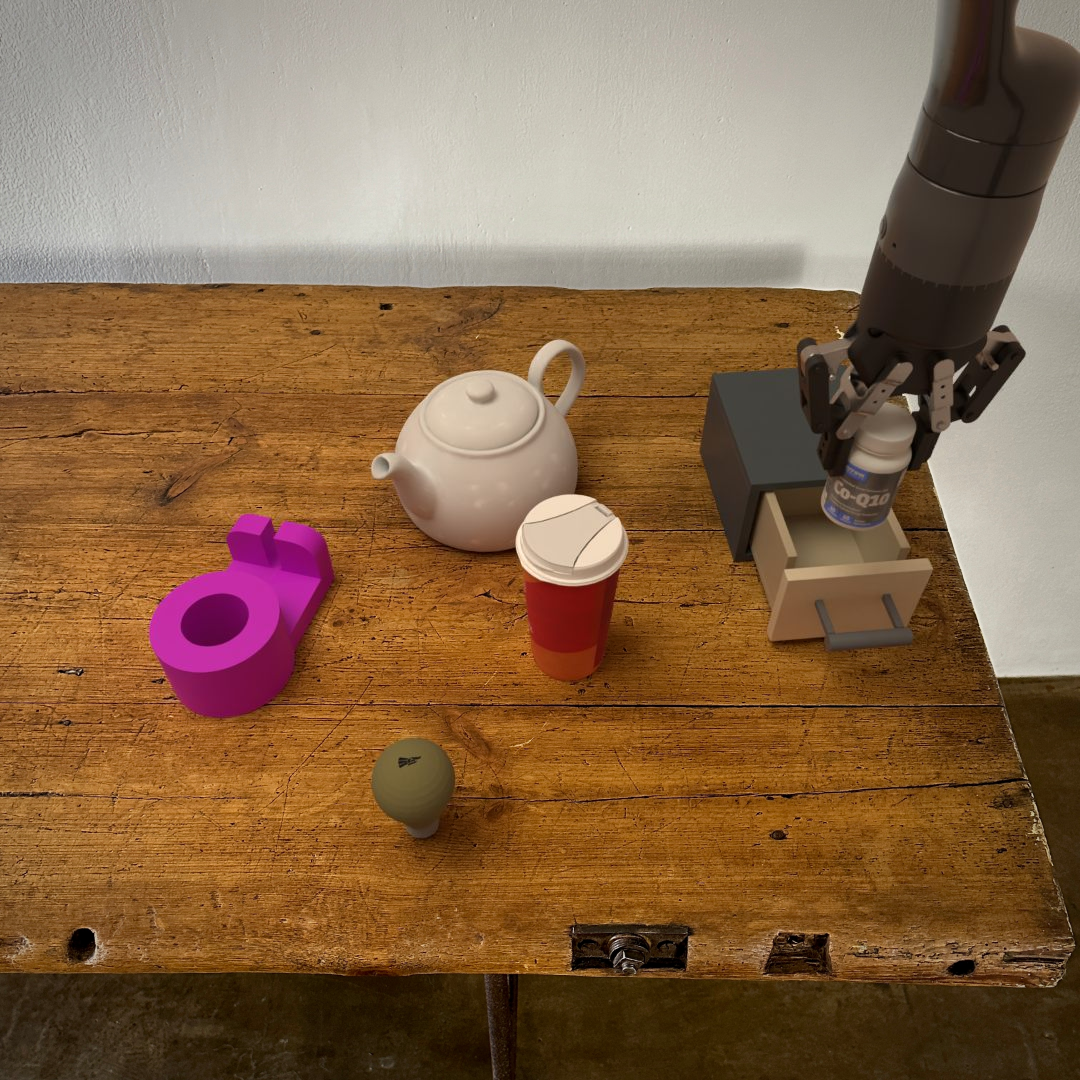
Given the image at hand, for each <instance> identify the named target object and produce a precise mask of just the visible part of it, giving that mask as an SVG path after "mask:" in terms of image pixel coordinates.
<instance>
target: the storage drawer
mask: <svg viewBox="0 0 1080 1080" xmlns="http://www.w3.org/2000/svg"><path fill="white" fill-rule="evenodd" d="M823 490H824V487H811V488H797V489H784V490H770V491H760V494H759V498H758V502H757V506H756V510H755V515H754V519H753V523H752V527H751V531H750V536H749V540H748V542H749V545H750V548H751V551H752V554H753V557H754V560H753V561H754V564H755V566H756V569H757V572H758V575H759V579H760V581H761V584H762V587H763V590H764V594H765V596H766V599H767V602H768V605H769V608H770V611H771V614H770V617H769V620H768V624H767V627H766V634H767V636H768V639H769V641H770V642H778V641H780V642H781V641H790V640H791V641H792V640H802V639H803V640H804V639H815V638H824V640H823V642H824V648H825V650H826V652H827V653H833V652H835V653H836V652H837V653H838V652H847V651H849V652H850V651H859V650H860V651H861V650H872V649H883V648H884V649H885V648H897V647H907V646H912V645H913V643H914V633H913V630H912V628H911V627H909V626H908V625H909V623H910V621H911V619H912V617H913V614H914V612H915V610H916V608H917V606H918V604H919V602H920V599H921V597H922V595H923V593H924V591H925V589H926V586H927V585H928V582H929V581H930V577H931V576H932V573H933V572H934V567H933V565H932V563H931V561H930V559H929V558H928V557H926V558H913V559H912V558H911V559H907V558H908V557H907V556H908V555H909V552H910V550H911V545H910V542H909V541H908V539H907V537H906V535H905V533H904V530H903V528H902V527H901V524H900V522H899V520H898V518H897V516H896V514H895V512H894V510H893V508H892V507H891V509H890V512H889V514H888V517H887V518H886V520H885V521H884V523H883V524H882V525H880V526H879V527H877V528H875V529H872V530H867V531H855V530H850V529H847V528H844V527H841V526H839V525H837V524H835V523H834V522H833V521H831V520H830V519H829V518H828V517H827V516H826V514H825V513H824V511H823V509H822V506H821V497H822V493H823Z"/></svg>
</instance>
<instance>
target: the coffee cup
mask: <svg viewBox="0 0 1080 1080" xmlns="http://www.w3.org/2000/svg"><path fill="white" fill-rule="evenodd" d="M515 550H516V553H517V556H518V559H519V562H520V565H521V567H522V573H523V574H522V575H523V583H524V585H523V586H524V594H525V603H526V612H527V622H528V629H529V638H530V644H531V652H532V656H533V660H534V662H535V664H536V665H537V667H538V668H539V669H540V670H541V672H543V673H544V674H546V675H547V676H549V677H550V678H553V679H556V680H559V681H566V682H567V681H568V682H569V681H571V682H573V681H578V680H579V681H580V680H582V679H585V678H587V677H588V676H590V675H593V673H595V672H596V671H597V670H598V668H599V667H600V666H601V663H602V661H603V658H604V655H605V652H606V646H607V641H608V637H609V632H610V626H611V621H612V616H613V609H614V604H615V600H616V593H617V589H618V588H617V587H618V583H619V577H620V571H621V567H622V566H623V563H624V562H625V560H626V558H627V556H628V551H629V537H628V534H627V531H626V529H625V527H624V525H622V521H621V520H620V517H618V516H617V517H616V515H615V514H614V512H613V511H612V510H611V509H609V508H608V506H606V505H604V504H603V503H599V502H598V499H596V498H593V497H591V496H587V495H582V494H574V495H560V496H556V497H552V498H549V499H547V500H545V501H543V502H541V503H539V504H538V505H536V506H535V507H534V508H533V509H532V510H531V511H530V512H529V513H528V515H527V516H526V518H525V520H524V522H523V523H522V525H521V526H520V528H519V530H518V532H517V536H516V547H515Z"/></svg>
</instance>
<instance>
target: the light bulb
mask: <svg viewBox="0 0 1080 1080" xmlns="http://www.w3.org/2000/svg"><path fill="white" fill-rule="evenodd" d="M370 781H371V790H372V791H371V792H372V794H373V798H374V800H375V802H376V804H377V805H378V807H379V808H380V810H381V811H382V812H383V813H384V814H385V815H386V816H387V817H388V818H390V819H392V820H394V821H395V822H398V823H401V824H403V825H405V829H406V831H407V833H408V834H409V835H410V836H412V837H414V838H416V839H426V838H429V837H431V836H433V834H435V833H436V831H437V830H438V828H439V825H440V817H439V816H440V814H441V813H442V812H443V811H444V810H445V809H446V808H447V807H448V806H449V803H450V802H451V800H452V797H453V796H454V795H453V794H454V792H455V789H456V772H455V768H454V764H453V762H452V759H451V758H450V757H449V755H448V753H447V752H446V750H444V748H442V747H441V746H440V745H438V743H436V742H434V741H432V740H430V739H427V738H424V737H423V738H422V737H408V738H403V739H400V740H397V741H396V742H394V743H392V744H390V745H389V746H387V748H385V749H384V750H383V751H382V753H380V755H379V756H378V758H377V759H376V761H375V763H374V766H373V768H372V773H371V780H370Z"/></svg>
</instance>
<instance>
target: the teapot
mask: <svg viewBox="0 0 1080 1080" xmlns="http://www.w3.org/2000/svg"><path fill="white" fill-rule="evenodd" d="M562 353H566V354H568V356H569V358H570V359H571V372H570V374H569V375H570V376H569V379H568V381H567V384H566V386H565V387H564V390H563V391H562V393H561V395H560V396H559V398H558V399H557V401H556V402H555V404H553V403H552V402H551V401H550V400H549V399H548V398H547V397H546V396H545V391H544V387H543V378H544V375H545V372H546V370H547V368H548V367H549V365H550V363H551V362H552V360H554V359H555V358H556V357H557V356H558V355H560V354H562ZM586 376H587V365H586V361H585V357H584V355H583V354H582V352H581V350H580V349H579V348H578V347H577V346H576V345H575V344H574V343H571V341H567V340H566V339H565V340H564V339H553V340H551V341H549V342H547V343H545V344H544V345H543V346H542V347H541V348H540V349H539V350H538V351H537V353H536V354H535V355H534V357H533V358H532V360H531V363H530V365H529V368H528V373H527V380H526V379H524V378H523V377H520V376H519V375H516V374H513V373H510V372H507V371H502V370H492V369H485V370H483V369H482V370H474V371H473V370H472V371H469V372H464V373H461V374H458V375H455V376H453V377H450V378H448V379H446V380H445V381H443V382H441V383H439V384H438V385H436V386H435V387H434V388H432V390H431V391H429V393H428V394H427V395H426V396H425V397H424V398H423V399H422V401H420V402H419V404H418V405H416V407H415V408H414V410H413V411H412V412H411V413H410V415H408V418H407V419H406V421H405V422H404V424H403V425H402V428H401V430H400V433H399V435H398V437H397V441H396V444H395V449H394V452H383V453H380V454H378V455H376V456H375V457H374V458H373V460H372V462H371V465H370V473H371V476H372V478H373V480H375V481H384V480H387V479H390V478H391V481H392V483H393V486H394V490H395V492H396V494H397V497H398V499H399V502H400V504H401V506H402V508H403V510H404V511H405V513H406V514H407V516H408V517H409V519H410V520H411V521H412V522H413V524H414V525H415V526H416V527H417V528H418V529H419V530H421V532H423V533H424V534H425V535H426V536H428V537H429V538H431V539H433V540H435V541H437V542H438V543H440V544H443V545H445V546H448V547H451V548H454V549H456V550H457V549H458V550H463V551H469V552H477V553H488V552H489V553H490V552H491V553H492V552H502V551H507V550H510V549H516V536H517V532H518V530H519V528H520V526H521V525H522V523H523V522H524V520H525V518H526V516H527V515H528V513H529V512H530V511H531V510H532V509H533V508H534V507H535V506H536V505H538V504H539V503H541V502H543V501H545V500H547V499H549V498H552V497H556V496H560V495H575V492H576V488H577V483H578V473H579V460H578V450H577V446H576V442H575V439H574V435H573V434H572V431H571V429H570V426H569V425H568V424H569V423H568V422H567V420H566V417H567V416H568V414H569V413H570V411H571V409H572V407H573V406H574V404H575V403H576V401H577V399H578V397H579V395H580V393H581V391H582V389H583V387H584V384H585V381H586Z"/></svg>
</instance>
